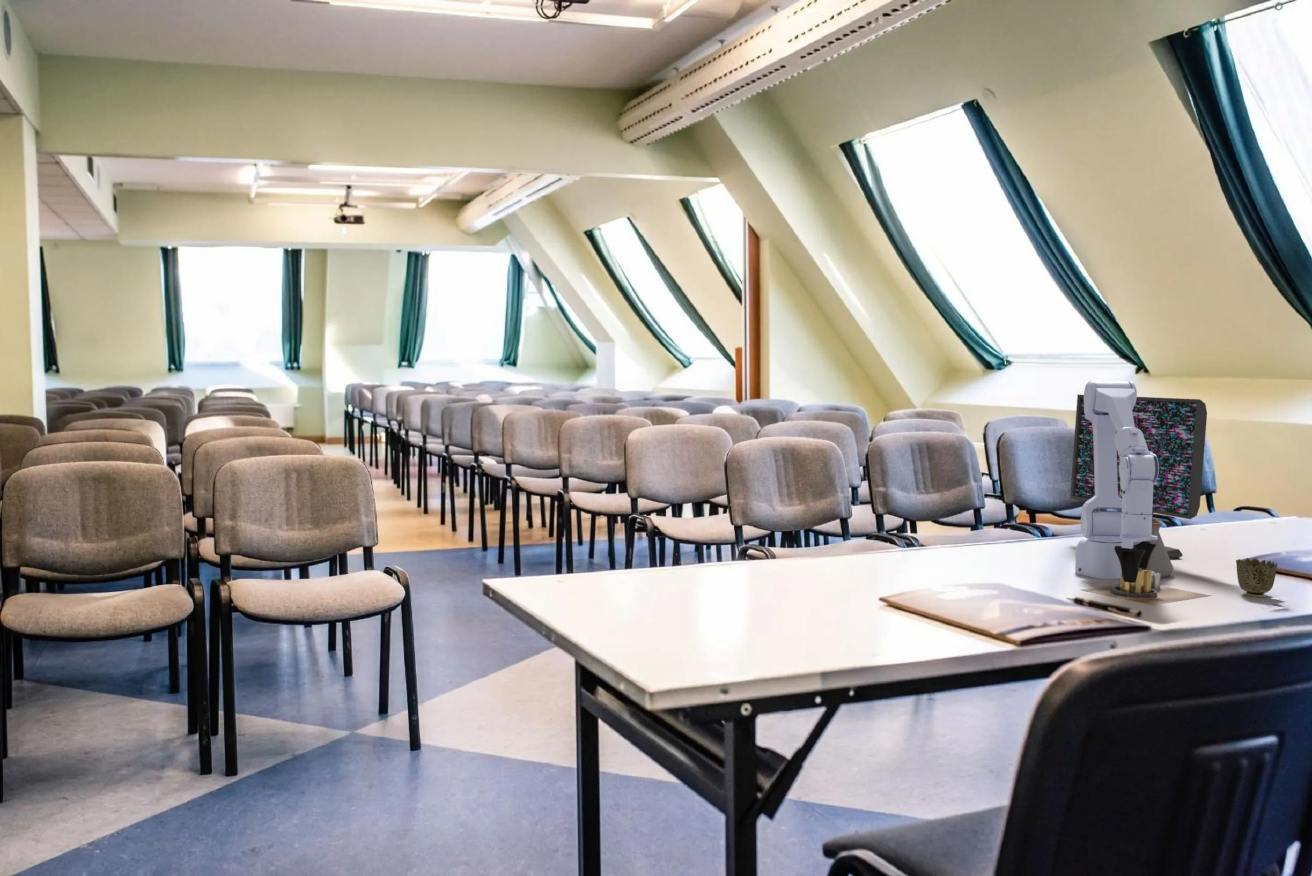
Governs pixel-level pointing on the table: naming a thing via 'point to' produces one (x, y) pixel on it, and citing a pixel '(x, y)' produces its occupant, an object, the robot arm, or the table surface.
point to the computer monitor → (1170, 436)
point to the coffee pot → (1158, 554)
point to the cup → (1256, 576)
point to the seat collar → (1135, 595)
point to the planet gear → (1138, 582)
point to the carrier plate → (1162, 597)
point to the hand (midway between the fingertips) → (1134, 579)
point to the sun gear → (1155, 580)
